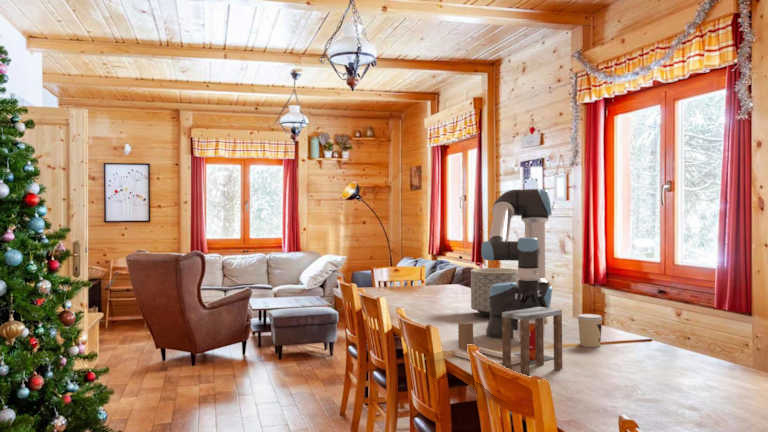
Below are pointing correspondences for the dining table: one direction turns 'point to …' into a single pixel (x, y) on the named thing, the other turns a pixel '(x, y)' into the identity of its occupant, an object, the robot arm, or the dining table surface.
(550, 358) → the coaster
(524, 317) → the small wooden stool
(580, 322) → the coffee cup
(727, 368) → the dining table surface
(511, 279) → the planter
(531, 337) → the coffee cup
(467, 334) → the frame
